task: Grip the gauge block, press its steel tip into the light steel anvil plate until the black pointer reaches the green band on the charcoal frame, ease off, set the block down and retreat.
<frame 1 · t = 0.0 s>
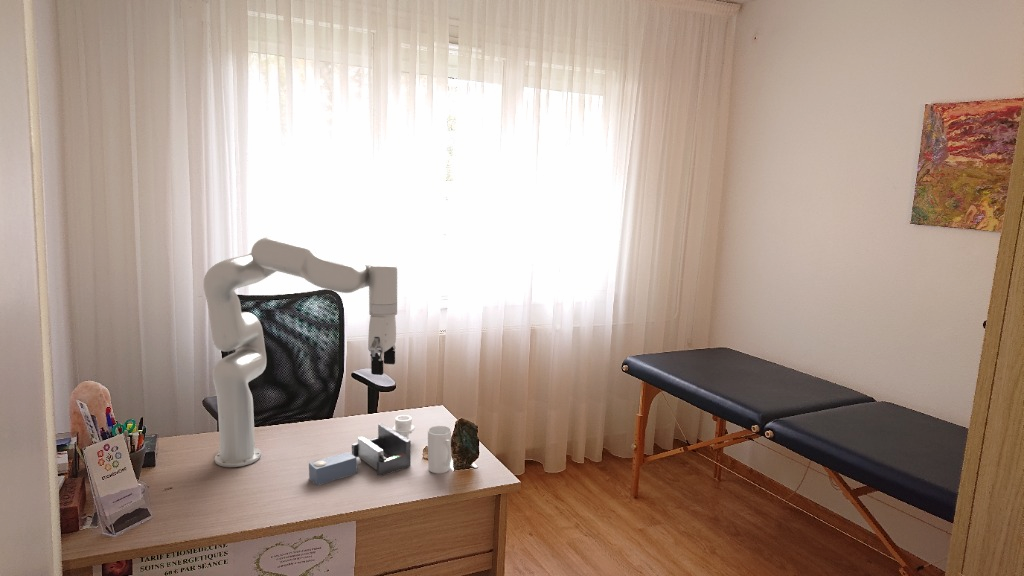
hand: (383, 369, 182), 31 cm above the table, fingers open, 9 cm apart
gauge block: (333, 476, 185), on the table
gauge frame: (368, 465, 192), on the table
mug: (441, 471, 190), on the table
anvil plate: (372, 454, 191), point 3 cm above the table, slide at 0.0 cm
pipe fitting: (403, 442, 209), on the table
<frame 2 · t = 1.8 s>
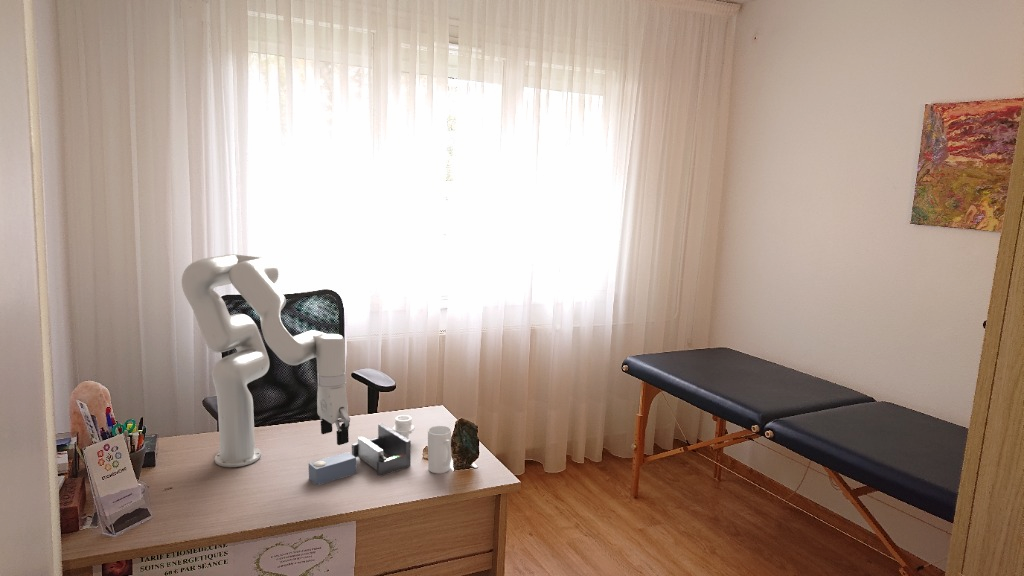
hand: (334, 438, 183), 11 cm above the table, fingers open, 9 cm apart
nothing on the table moved.
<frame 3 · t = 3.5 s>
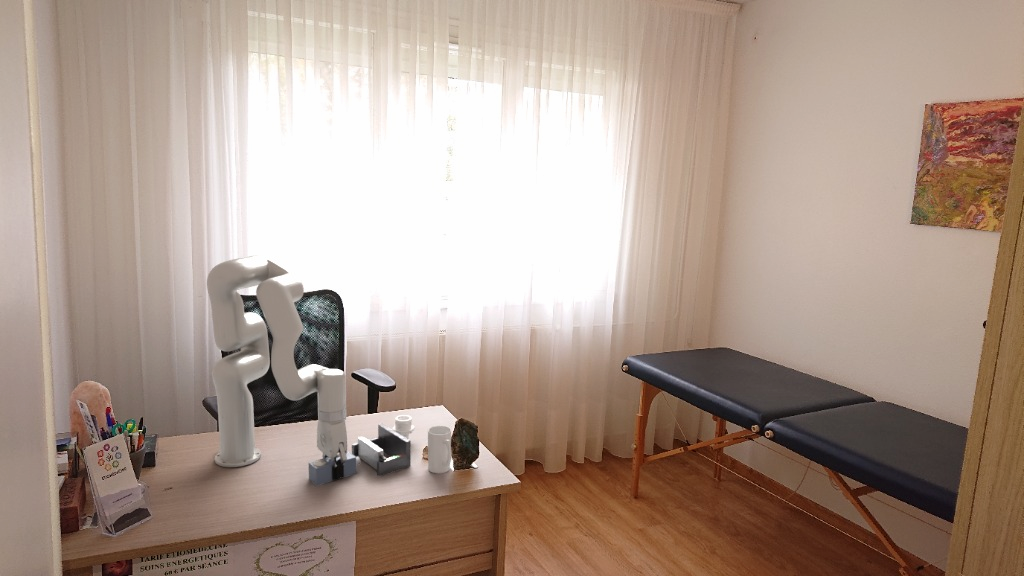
hand: (333, 474, 185), 1 cm above the table, fingers closed on gauge block, 4 cm apart
gauge block: (332, 476, 185), on the table, touching gripper
everything else where it was.
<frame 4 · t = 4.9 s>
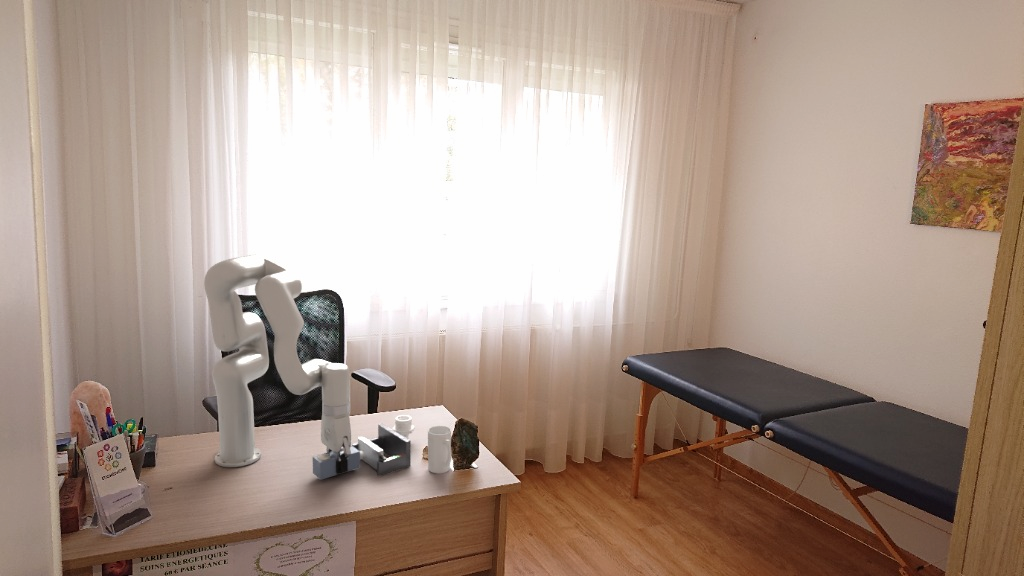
hand: (337, 468, 186), 2 cm above the table, fingers closed on gauge block, 4 cm apart
gauge block: (336, 470, 185), point 1 cm above the table, touching gripper
everything else where it was.
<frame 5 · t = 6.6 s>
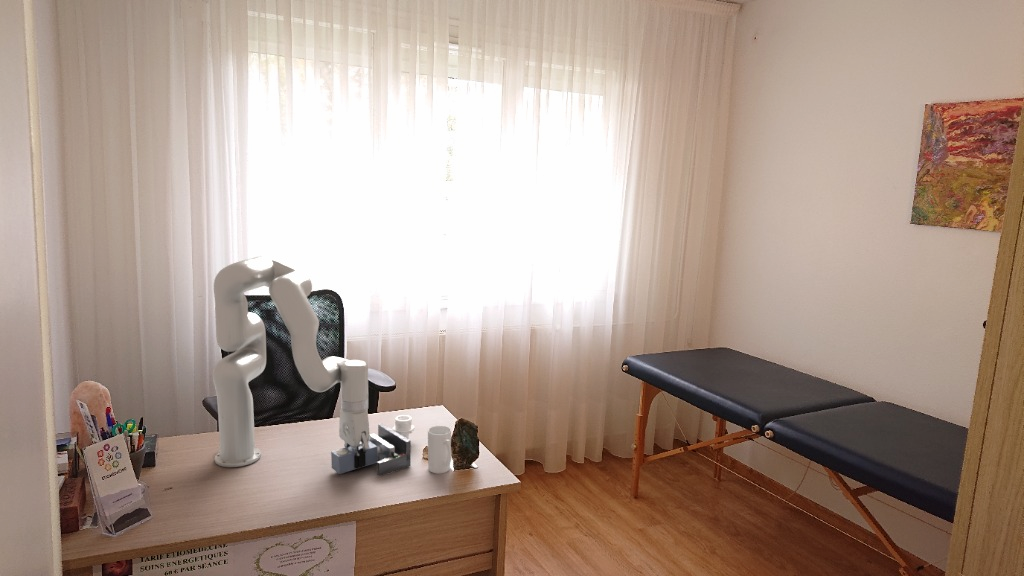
hand: (355, 463, 189), 2 cm above the table, fingers closed on gauge block, 4 cm apart
gauge block: (354, 465, 189), point 1 cm above the table, touching anvil plate, gripper
anvil plate: (383, 451, 193), point 3 cm above the table, slide at 3.7 cm, touching gauge block
everything else where it was.
when the fingers open (1 cm above the table, at t = 8.5 s): gauge block drops 1 cm, on the table.
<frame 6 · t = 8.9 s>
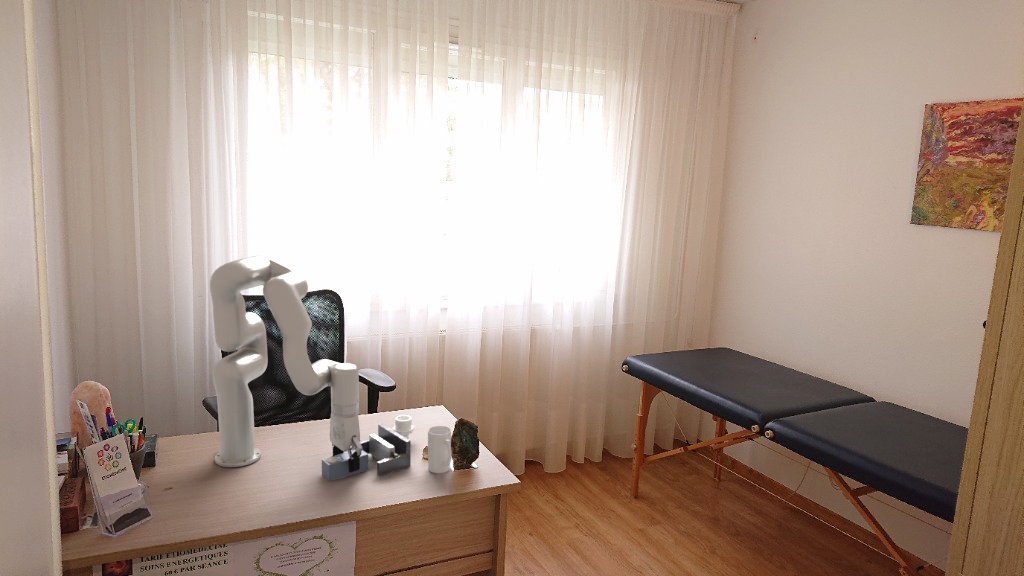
hand: (346, 464, 187), 2 cm above the table, fingers open, 9 cm apart
gauge block: (345, 473, 187), on the table
anvil plate: (383, 451, 193), point 3 cm above the table, slide at 3.7 cm
everything else where it was.
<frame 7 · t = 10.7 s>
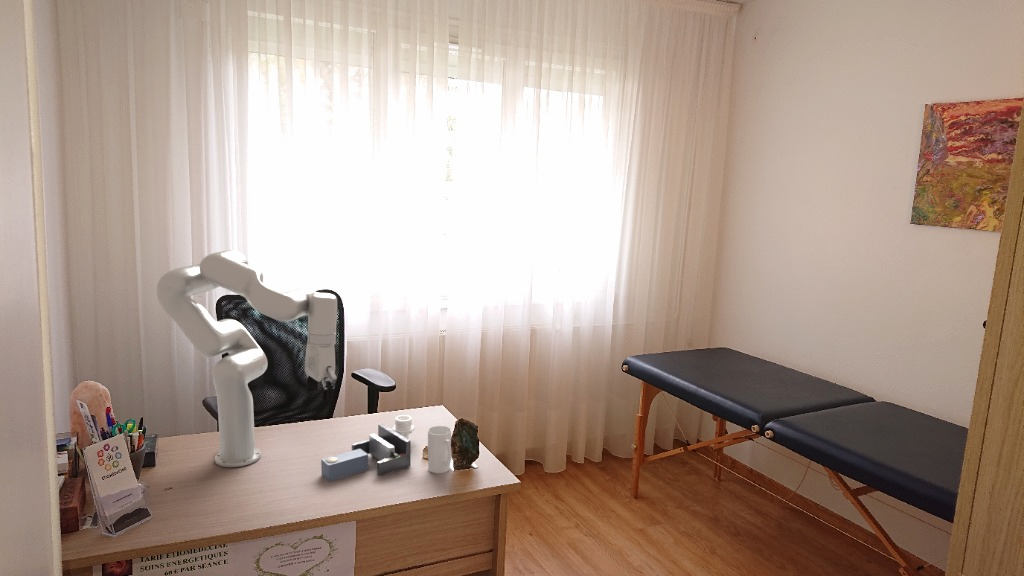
hand: (319, 396, 185), 22 cm above the table, fingers open, 9 cm apart
nothing on the table moved.
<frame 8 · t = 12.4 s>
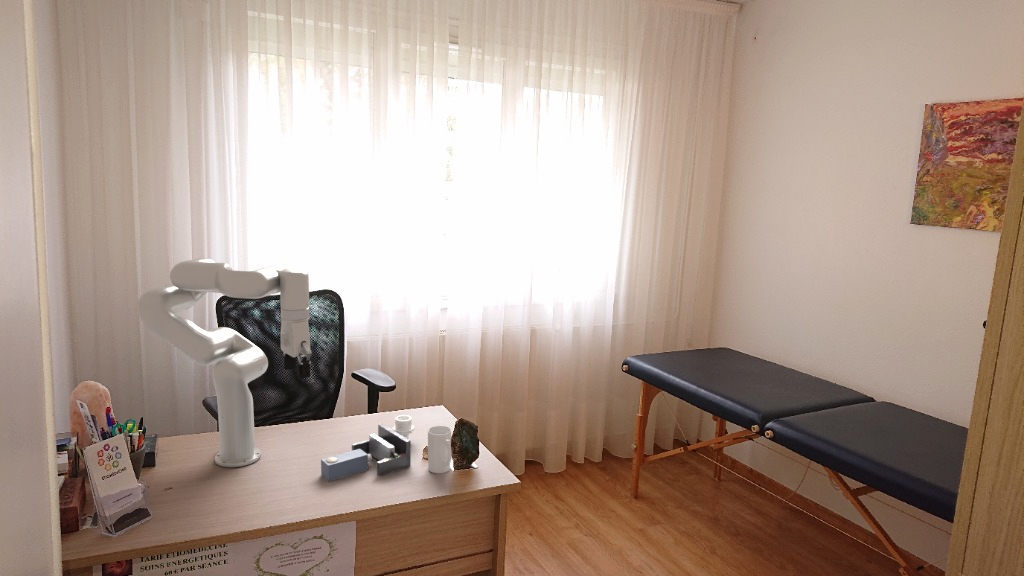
hand: (297, 373, 185), 28 cm above the table, fingers open, 9 cm apart
nothing on the table moved.
at the end: anvil plate slide at 3.7 cm; gauge block tilted 0°; the gripper is holding nothing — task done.
